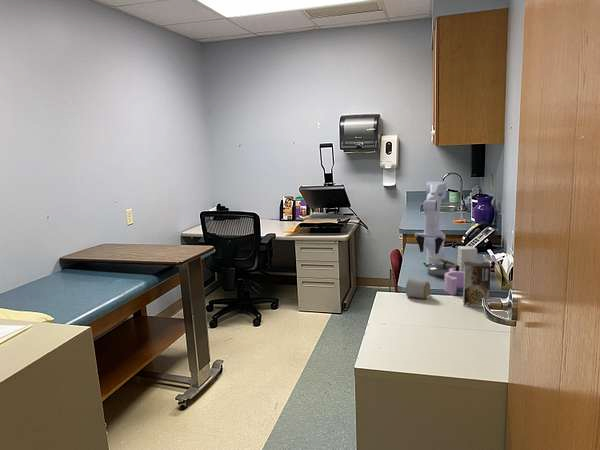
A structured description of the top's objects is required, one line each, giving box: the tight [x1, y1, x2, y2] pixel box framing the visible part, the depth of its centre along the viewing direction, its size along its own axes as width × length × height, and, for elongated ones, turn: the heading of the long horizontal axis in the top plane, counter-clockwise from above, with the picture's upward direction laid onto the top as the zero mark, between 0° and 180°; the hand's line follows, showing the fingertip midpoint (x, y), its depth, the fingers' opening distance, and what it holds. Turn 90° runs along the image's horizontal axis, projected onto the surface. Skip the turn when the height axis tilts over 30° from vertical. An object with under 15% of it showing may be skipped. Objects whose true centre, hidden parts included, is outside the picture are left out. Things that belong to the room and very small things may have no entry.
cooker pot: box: [424, 263, 460, 279], centre depth 209 cm, size 14×18×4 cm
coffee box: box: [462, 261, 492, 308], centre depth 164 cm, size 9×6×16 cm
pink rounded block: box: [443, 267, 464, 296], centre depth 185 cm, size 20×12×7 cm, turn 163°
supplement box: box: [457, 245, 478, 272], centre depth 212 cm, size 7×7×13 cm
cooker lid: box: [429, 255, 458, 267], centre depth 209 cm, size 14×14×2 cm
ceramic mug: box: [405, 277, 431, 300], centre depth 175 cm, size 11×8×8 cm
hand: (429, 252), depth 208 cm, fingers open, 7 cm apart
